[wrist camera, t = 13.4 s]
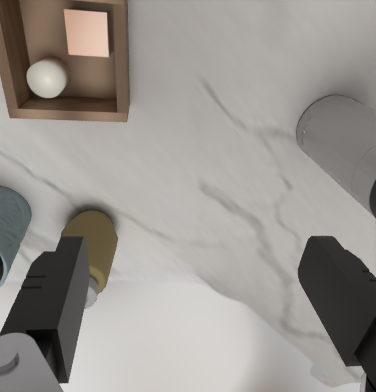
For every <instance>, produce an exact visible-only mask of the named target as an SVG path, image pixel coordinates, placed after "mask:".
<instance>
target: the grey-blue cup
mask: <svg viewBox="0 0 376 392" xmlns="http://www.w3.org/2000/svg"><path fill="white" fill-rule="evenodd" d="M30 221H31V210H30V207H29V205H28V203H27V202H26V200H25V199H24V198H23V197H22V196H21V195H19V194H18V193H17V192H15V191H13V190H11V189H8V188H5V187H1V186H0V287H1V286H2V285H3V283H4V282H5V280H6V277H7V275H8V273H9V270H10V268H11V265H12V263H13V261H14V259H15V257H16V254H17V252H18V249H19V247H20V243H21V242H22V240H23V238H24V235H25V233H26V230H27V228H28V226H29V223H30Z"/></svg>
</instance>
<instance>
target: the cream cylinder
mask: <svg viewBox="0 0 376 392" xmlns="http://www.w3.org/2000/svg"><path fill="white" fill-rule="evenodd" d="M70 77H71V76H70V71H69V68H68V67H67V65H66V64H65V63H64V62H63V61H62V60H60V59H58V58H55V57H47V58H44V59H42V60H41V61H39V62H37V63H35V64H33V65H32V66H31V67H30V68H29V69H28V72H27V82H28V85H29V87H30V88H31V90H32V91H33V92H34V93H36V94H37V95H39V96H41V97H44V98H53V97H56V96H57V95H59V94H60V93H61V92H62V90H63V89H64V88H65V87H66V86H67V85H68V84H69V82H70Z"/></svg>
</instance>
